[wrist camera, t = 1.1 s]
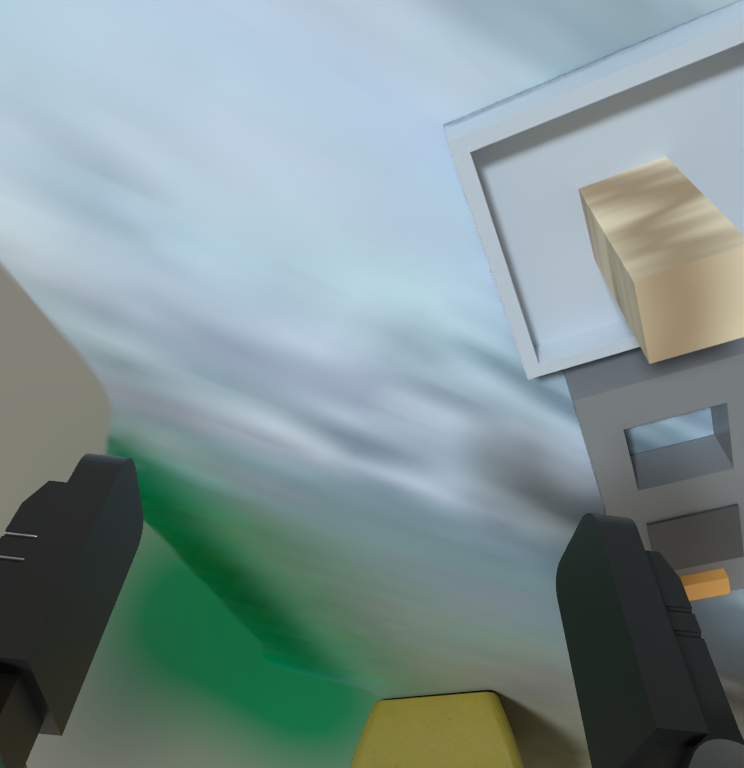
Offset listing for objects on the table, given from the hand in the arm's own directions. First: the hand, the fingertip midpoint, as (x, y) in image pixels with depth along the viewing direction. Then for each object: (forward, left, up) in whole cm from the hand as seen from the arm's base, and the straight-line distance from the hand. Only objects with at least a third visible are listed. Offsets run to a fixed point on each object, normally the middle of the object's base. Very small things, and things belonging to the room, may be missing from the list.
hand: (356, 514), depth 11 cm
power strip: (-10, +28, -23) cm, 37 cm away
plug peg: (-10, +8, -22) cm, 25 cm away
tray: (-10, +8, -23) cm, 26 cm away
